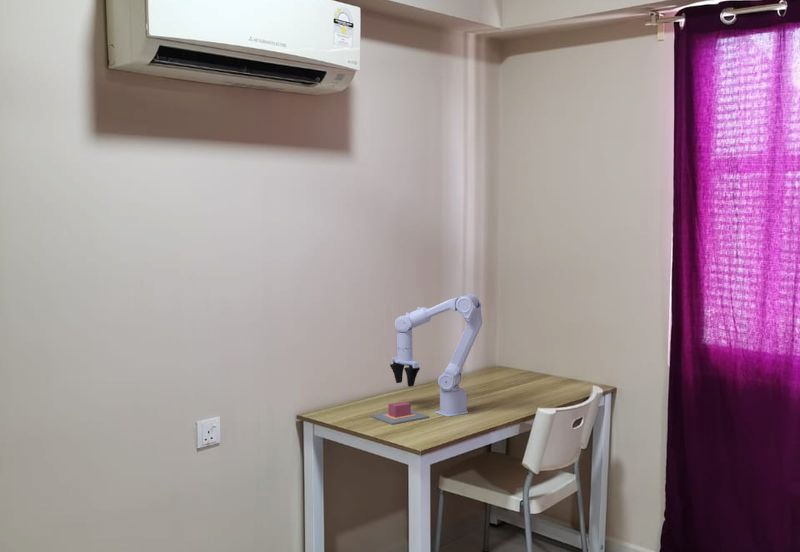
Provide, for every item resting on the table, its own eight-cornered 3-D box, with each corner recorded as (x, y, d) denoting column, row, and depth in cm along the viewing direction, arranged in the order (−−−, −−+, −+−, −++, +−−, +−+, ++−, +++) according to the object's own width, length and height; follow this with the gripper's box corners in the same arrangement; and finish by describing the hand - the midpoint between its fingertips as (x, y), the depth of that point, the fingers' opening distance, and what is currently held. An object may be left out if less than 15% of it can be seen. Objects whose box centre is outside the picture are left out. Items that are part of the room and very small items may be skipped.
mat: (406, 410, 295) (406, 407, 295) (429, 417, 284) (429, 415, 284) (370, 416, 286) (370, 414, 286) (392, 424, 275) (392, 422, 275)
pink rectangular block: (388, 415, 285) (388, 404, 285) (403, 412, 289) (403, 401, 288) (395, 417, 281) (395, 406, 281) (410, 414, 285) (410, 403, 285)
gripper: (384, 346, 298) (384, 382, 299) (407, 351, 286) (407, 389, 287) (400, 344, 302) (400, 380, 303) (423, 349, 290) (423, 386, 291)
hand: (404, 384), depth 295 cm, fingers open, 7 cm apart
